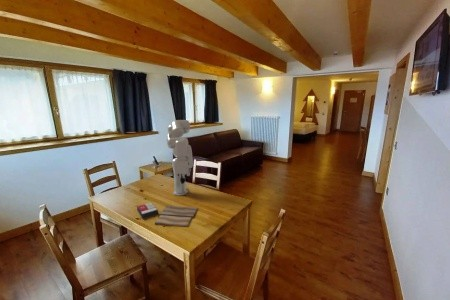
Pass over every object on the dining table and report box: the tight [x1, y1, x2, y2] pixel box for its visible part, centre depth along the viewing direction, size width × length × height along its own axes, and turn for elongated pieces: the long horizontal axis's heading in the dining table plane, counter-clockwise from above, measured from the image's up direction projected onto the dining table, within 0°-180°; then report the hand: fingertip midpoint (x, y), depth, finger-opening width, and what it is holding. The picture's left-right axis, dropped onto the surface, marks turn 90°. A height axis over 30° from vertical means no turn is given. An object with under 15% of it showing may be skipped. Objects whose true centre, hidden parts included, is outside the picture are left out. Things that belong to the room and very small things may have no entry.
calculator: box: [136, 202, 159, 220], centre depth 154 cm, size 11×4×15 cm
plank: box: [154, 214, 192, 227], centre depth 142 cm, size 9×22×1 cm, turn 83°
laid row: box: [159, 205, 198, 219], centre depth 153 cm, size 12×24×1 cm, turn 83°
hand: (182, 182), depth 148 cm, fingers closed
